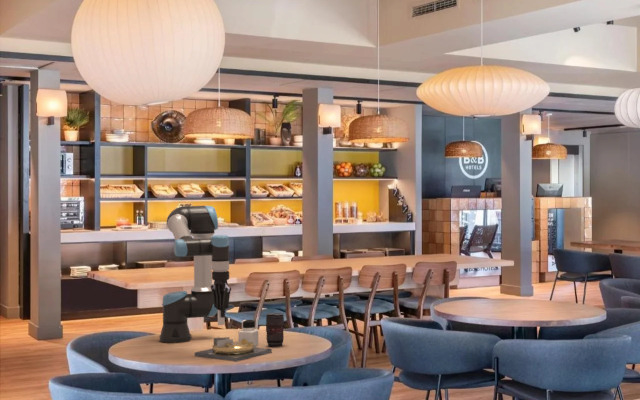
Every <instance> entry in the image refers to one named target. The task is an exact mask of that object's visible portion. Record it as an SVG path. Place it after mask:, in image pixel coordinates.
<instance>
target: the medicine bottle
mask: <svg viewBox="0 0 640 400" xmlns="http://www.w3.org/2000/svg"><path fill="white" fill-rule="evenodd" d="M242 339H247V340H248V342H253V344H254V347H257V346H259V329H256V321H255V320H254V319H243V320H241V330H240V331H238V342H241V340H242Z"/></svg>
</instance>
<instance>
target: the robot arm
mask: <svg viewBox="0 0 640 400" xmlns="http://www.w3.org/2000/svg"><path fill="white" fill-rule="evenodd" d="M166 226H167V229H168V230H169V232H171V233H172V235H173V238H174V243H173V251H174V255H175V256H176V257H182V258H184V257H193V287H192V288H191V290H190V293H188V292H187V291H186V290H181V291H180V290H178V291H172V292H168V293H166V294H163V296H162V304H161V305H162V327H161V332H160V335H159V342H160V343H167V344H168V343H169V344H173V343H174V344H177V343H186V342H189V341H192V334H191V333H190V329H189V324H188V319H192V318H193V319H194V318H209V317H214V316H215V315H217V325H218V326H225V324H226V321H225V320H226V318H225V317H226V310H228V309H229V302H230V295H231V291H232V287H229V283H228V280H229V279H230V271H229V270H230V239H229V236H228V235H227V234H215V231H216V230H218V229H219V222H218V215H217V212H216V209H215V207H214V206H212V205H183V206H179V207H176V208H174V209H173V210H172V211H171V212H170V213H169V214H168V216H167V218H166ZM212 281H213V282H212Z"/></svg>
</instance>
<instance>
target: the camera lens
mask: <svg viewBox="0 0 640 400" xmlns="http://www.w3.org/2000/svg"><path fill="white" fill-rule="evenodd" d="M265 320H266V321H265V323H266V324H265V325H266V328H265V332H266V344H267V347H269V348H280V347H283V343H284V337H285V335H284V326H285V325H284V323H285V317H284V313H281V312H268V313H266V318H265Z"/></svg>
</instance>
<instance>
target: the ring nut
mask: <svg viewBox="0 0 640 400" xmlns="http://www.w3.org/2000/svg"><path fill="white" fill-rule="evenodd" d="M212 348H213V352H214V353H219V354H242V353H248V352H252V351H253V350H254V344H253V342H248V340H247V339H242V340H241V342H239V341H234V339H233V338H232V339H231V338H230V337H229V336H226V337H213V344H212Z"/></svg>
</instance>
